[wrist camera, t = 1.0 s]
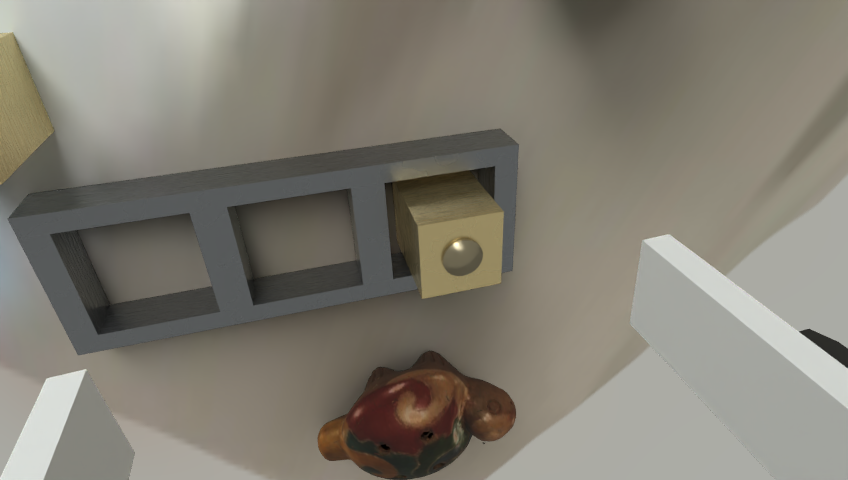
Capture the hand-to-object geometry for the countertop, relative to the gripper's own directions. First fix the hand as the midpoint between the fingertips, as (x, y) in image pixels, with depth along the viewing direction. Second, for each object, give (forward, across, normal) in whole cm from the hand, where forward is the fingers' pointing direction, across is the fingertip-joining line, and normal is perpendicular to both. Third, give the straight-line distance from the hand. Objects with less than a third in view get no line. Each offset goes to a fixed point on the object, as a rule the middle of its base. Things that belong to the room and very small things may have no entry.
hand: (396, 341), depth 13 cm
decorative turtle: (+22, +3, -25) cm, 33 cm away
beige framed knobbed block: (+22, +6, -8) cm, 24 cm away
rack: (+22, -3, -8) cm, 24 cm away
